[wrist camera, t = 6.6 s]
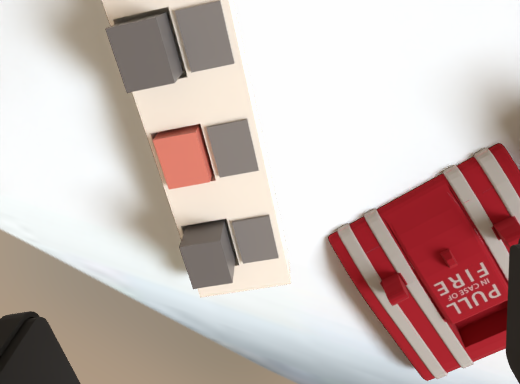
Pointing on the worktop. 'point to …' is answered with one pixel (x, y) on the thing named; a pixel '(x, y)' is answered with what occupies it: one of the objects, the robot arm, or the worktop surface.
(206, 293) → the button panel
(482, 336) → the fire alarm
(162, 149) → the button
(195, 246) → the button
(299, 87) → the worktop surface
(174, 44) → the button
